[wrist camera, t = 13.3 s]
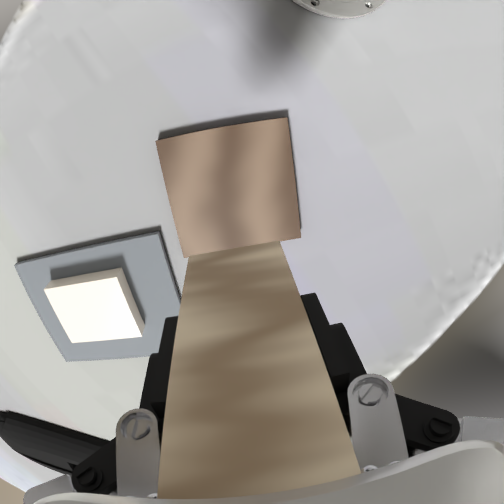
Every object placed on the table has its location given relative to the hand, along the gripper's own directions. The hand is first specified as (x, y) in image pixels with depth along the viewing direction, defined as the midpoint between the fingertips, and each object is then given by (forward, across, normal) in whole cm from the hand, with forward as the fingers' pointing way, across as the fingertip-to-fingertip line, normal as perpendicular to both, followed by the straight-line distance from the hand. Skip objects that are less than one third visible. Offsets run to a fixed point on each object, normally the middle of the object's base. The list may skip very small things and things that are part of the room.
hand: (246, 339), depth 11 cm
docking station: (+22, +49, +49) cm, 73 cm away
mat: (+21, +18, +11) cm, 30 cm away
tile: (+19, +18, +10) cm, 28 cm away
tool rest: (+21, 0, 0) cm, 21 cm away
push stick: (+4, 0, 0) cm, 4 cm away
